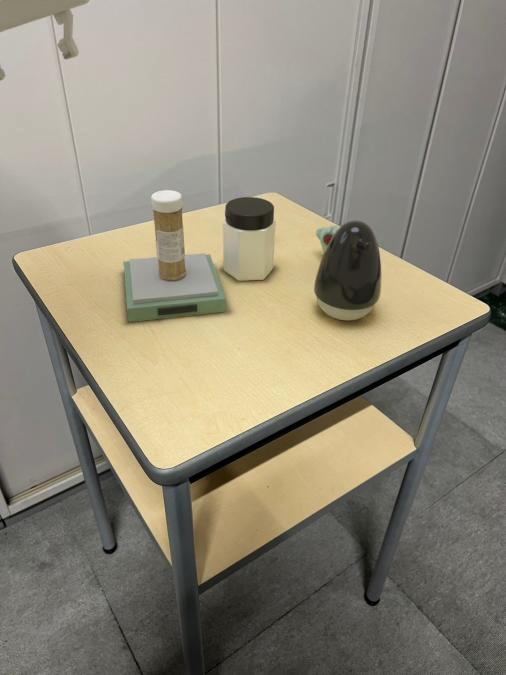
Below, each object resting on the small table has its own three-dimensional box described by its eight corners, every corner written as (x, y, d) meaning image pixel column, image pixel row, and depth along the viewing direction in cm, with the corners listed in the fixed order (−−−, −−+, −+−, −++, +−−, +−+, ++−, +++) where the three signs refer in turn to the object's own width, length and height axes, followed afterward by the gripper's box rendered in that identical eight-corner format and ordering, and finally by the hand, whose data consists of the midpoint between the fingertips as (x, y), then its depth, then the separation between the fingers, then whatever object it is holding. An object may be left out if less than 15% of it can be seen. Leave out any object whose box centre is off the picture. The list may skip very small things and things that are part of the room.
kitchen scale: (128, 323, 78) (126, 305, 76) (125, 274, 90) (122, 257, 88) (226, 312, 81) (226, 295, 79) (210, 266, 93) (209, 249, 91)
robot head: (355, 261, 96) (360, 227, 92) (345, 270, 93) (350, 235, 89) (317, 249, 100) (321, 216, 96) (306, 257, 97) (310, 223, 93)
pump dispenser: (321, 332, 78) (333, 240, 69) (304, 296, 86) (313, 209, 77) (386, 327, 79) (406, 236, 70) (363, 292, 87) (378, 206, 78)
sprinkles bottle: (166, 266, 86) (159, 187, 78) (191, 270, 85) (187, 191, 77) (153, 279, 83) (145, 197, 75) (179, 284, 82) (173, 202, 74)
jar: (237, 254, 97) (238, 192, 90) (278, 263, 95) (282, 200, 88) (216, 276, 90) (215, 211, 83) (259, 286, 88) (262, 220, 81)
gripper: (60, -118, 51) (120, 32, 61) (-121, -52, 54) (-34, 81, 64) (47, -108, 47) (115, 51, 57) (-148, -36, 49) (-50, 104, 60)
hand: (35, 68), depth 60 cm, fingers open, 8 cm apart
